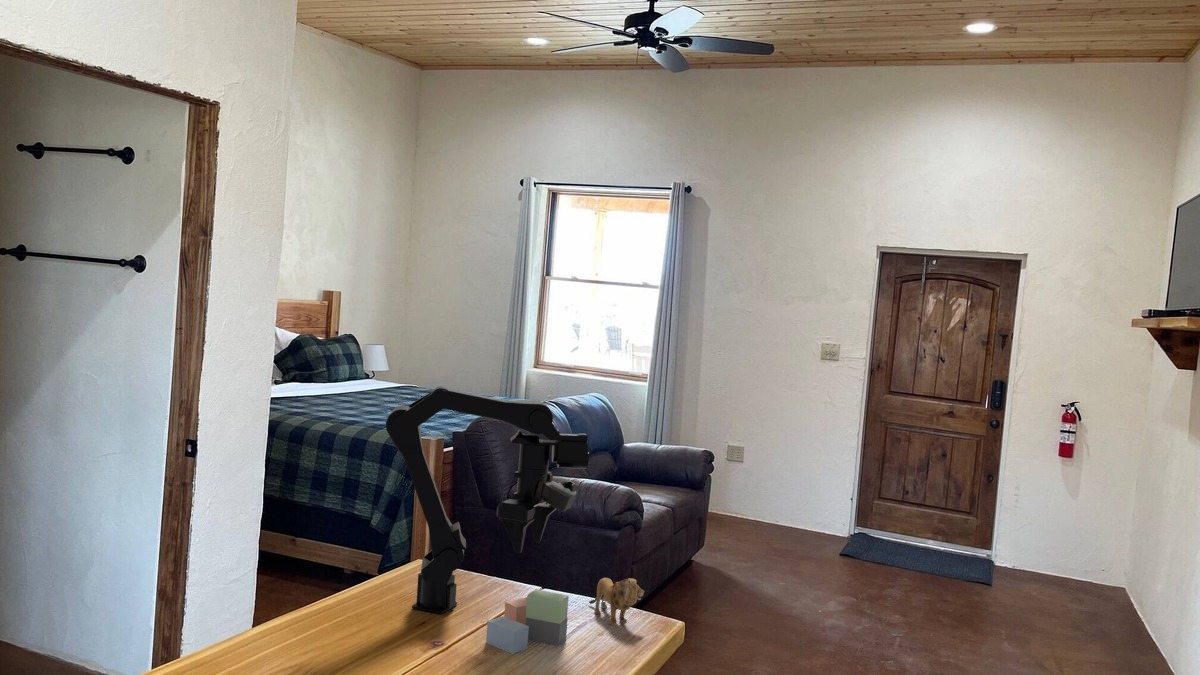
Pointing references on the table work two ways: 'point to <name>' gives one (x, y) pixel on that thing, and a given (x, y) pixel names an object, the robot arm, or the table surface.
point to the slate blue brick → (507, 634)
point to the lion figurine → (617, 596)
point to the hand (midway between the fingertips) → (528, 547)
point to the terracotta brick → (516, 610)
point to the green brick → (547, 606)
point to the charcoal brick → (547, 631)
